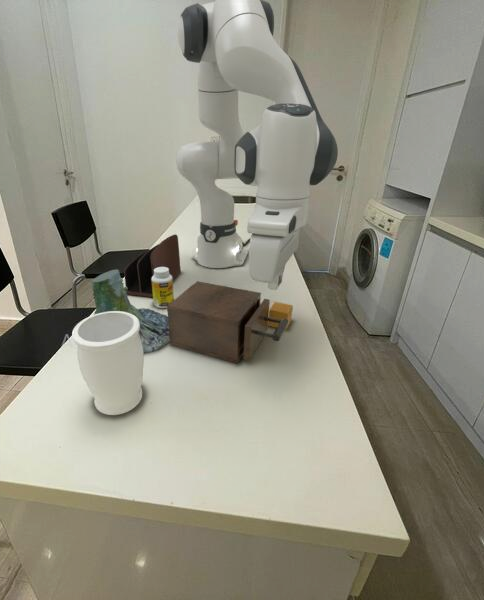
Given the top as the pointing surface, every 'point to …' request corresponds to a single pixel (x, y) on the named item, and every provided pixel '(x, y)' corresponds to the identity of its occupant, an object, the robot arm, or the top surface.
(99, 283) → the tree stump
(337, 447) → the top surface
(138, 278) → the letter holder
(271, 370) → the top surface
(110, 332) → the jar
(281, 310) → the block
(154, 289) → the supplement bottle
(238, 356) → the cabinet
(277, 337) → the drawer
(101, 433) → the top surface
